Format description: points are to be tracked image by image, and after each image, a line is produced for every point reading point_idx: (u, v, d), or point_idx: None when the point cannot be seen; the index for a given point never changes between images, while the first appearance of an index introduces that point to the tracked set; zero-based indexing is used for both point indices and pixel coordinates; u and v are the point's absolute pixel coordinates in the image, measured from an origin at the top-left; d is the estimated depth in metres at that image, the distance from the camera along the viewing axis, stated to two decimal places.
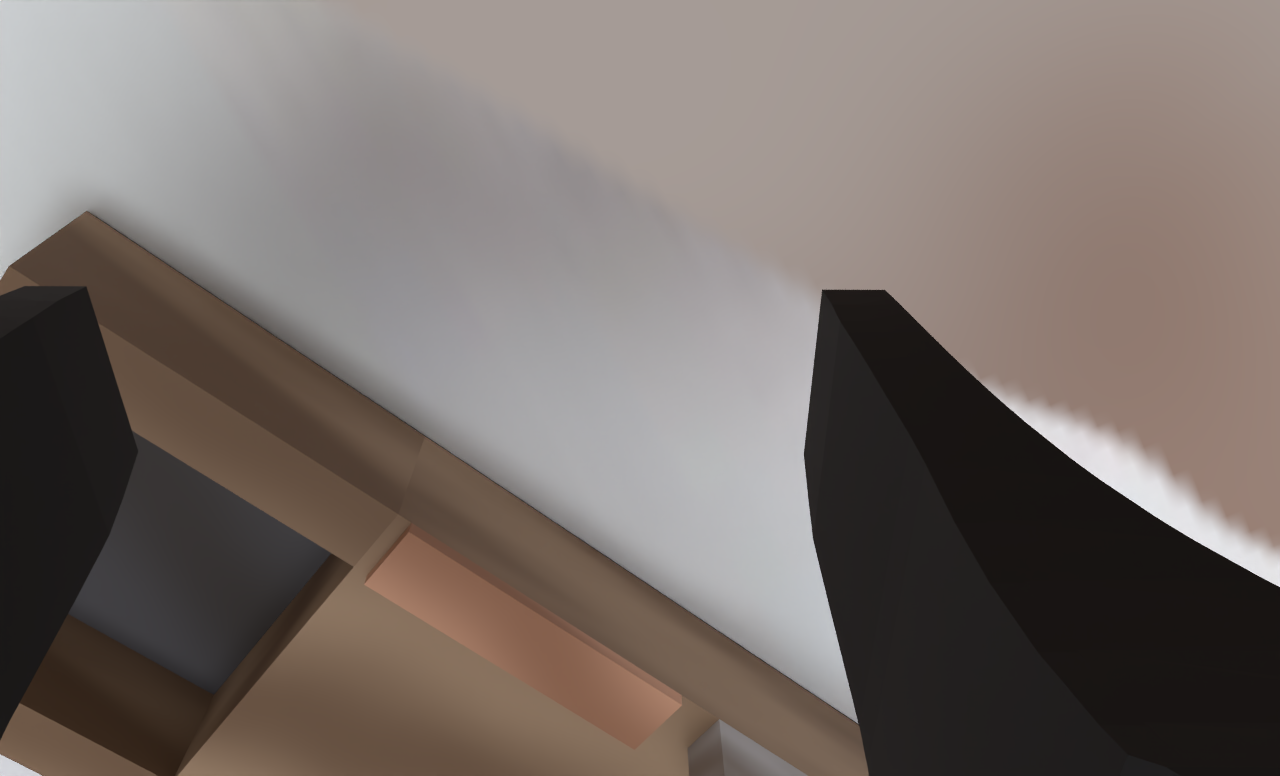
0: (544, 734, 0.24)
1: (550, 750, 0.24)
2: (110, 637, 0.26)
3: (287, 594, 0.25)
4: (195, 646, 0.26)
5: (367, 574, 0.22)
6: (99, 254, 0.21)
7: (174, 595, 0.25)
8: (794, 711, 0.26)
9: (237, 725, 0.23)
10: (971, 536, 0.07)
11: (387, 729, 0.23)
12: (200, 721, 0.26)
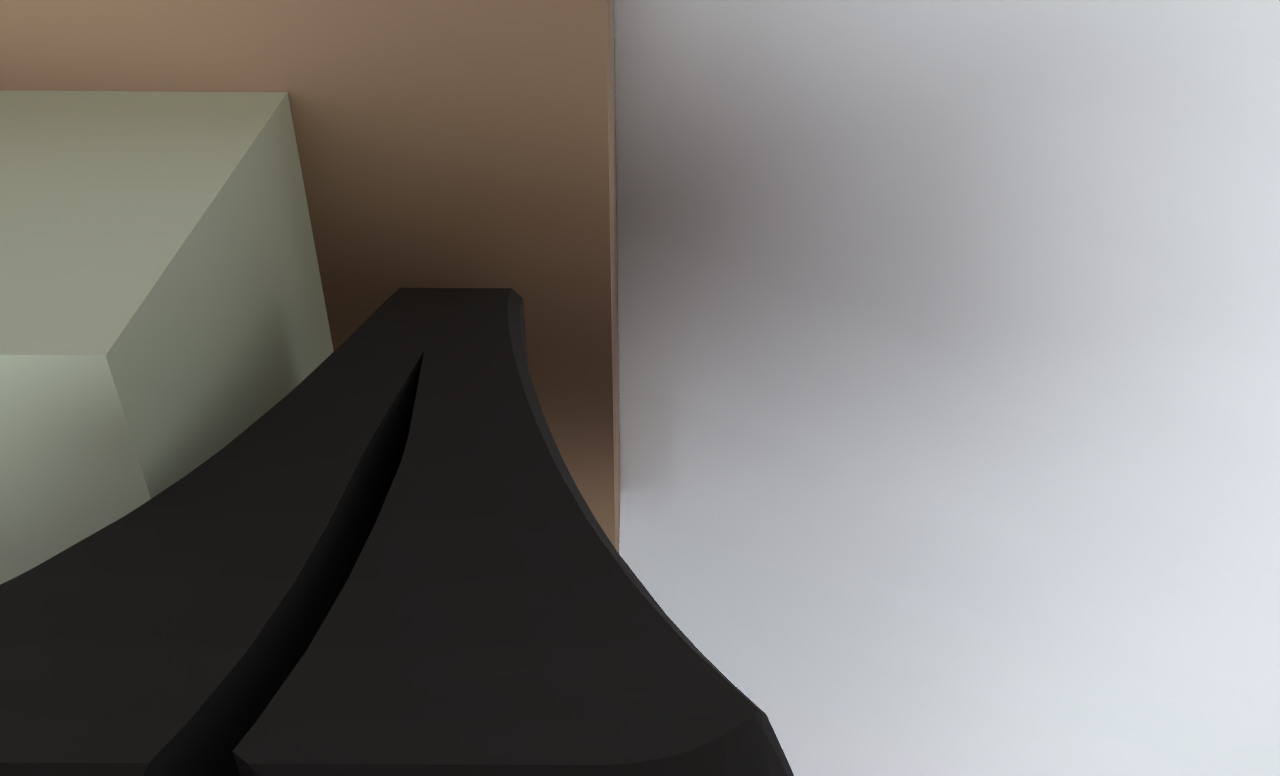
0: None
1: None
2: None
3: None
4: None
5: None
6: None
7: None
8: None
9: None
10: (379, 534, 0.07)
11: None
12: None
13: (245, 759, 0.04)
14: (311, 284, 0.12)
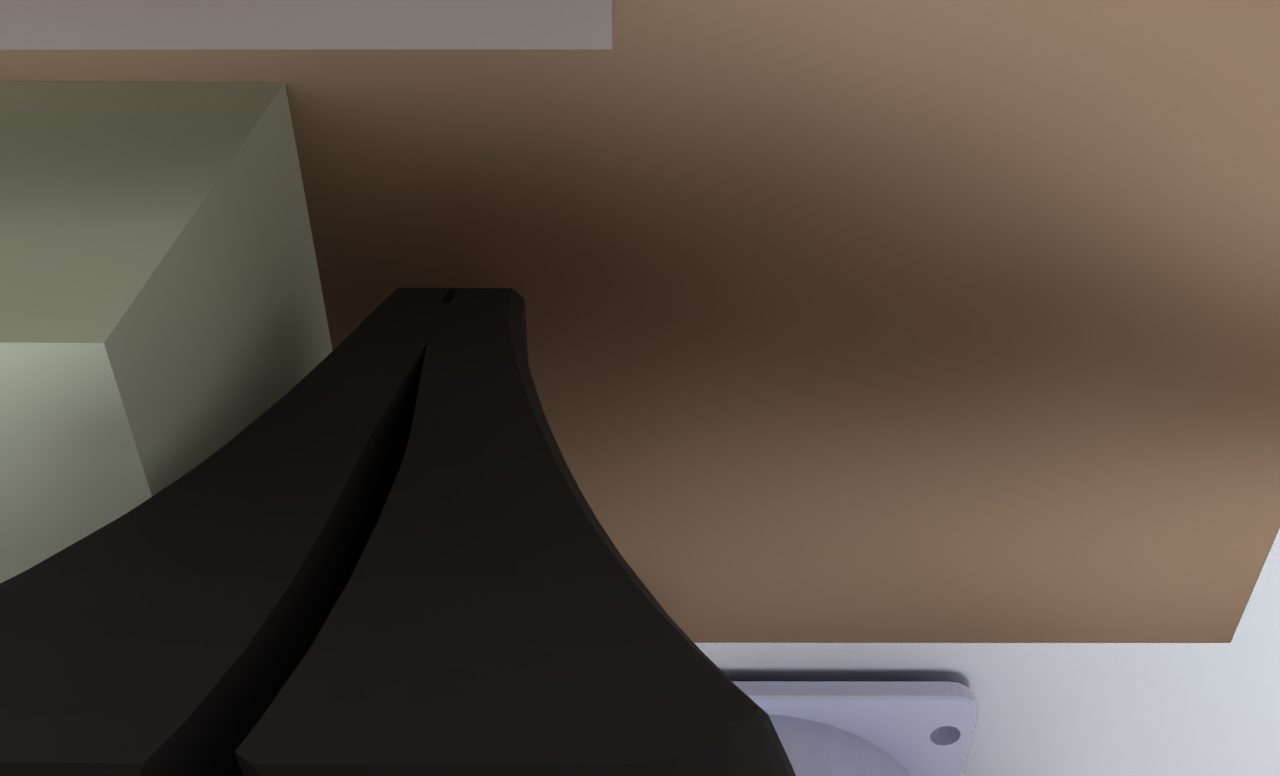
0: None
1: None
2: None
3: None
4: None
5: None
6: None
7: None
8: None
9: None
10: (381, 533, 0.07)
11: None
12: None
13: (247, 759, 0.04)
14: (309, 275, 0.12)
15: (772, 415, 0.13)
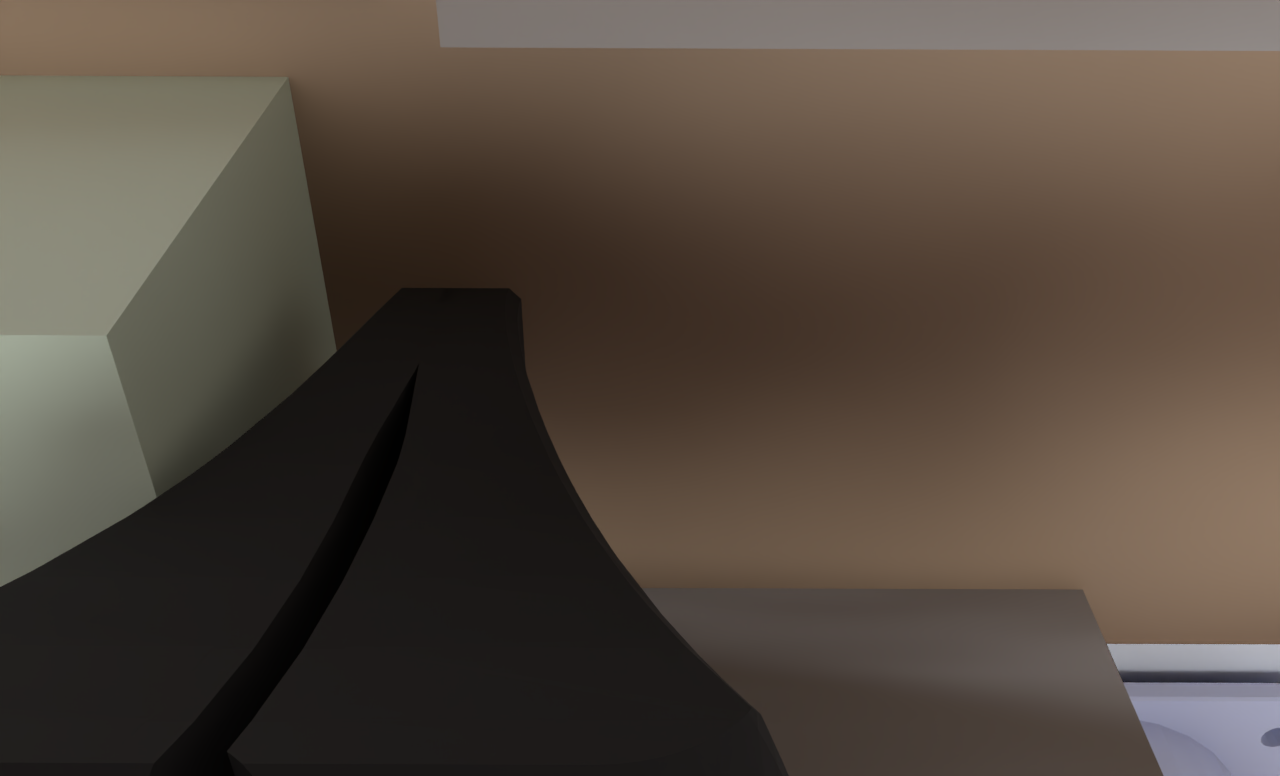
0: None
1: None
2: None
3: None
4: None
5: None
6: None
7: None
8: None
9: None
10: (376, 533, 0.07)
11: None
12: None
13: (240, 759, 0.04)
14: (313, 271, 0.12)
15: None
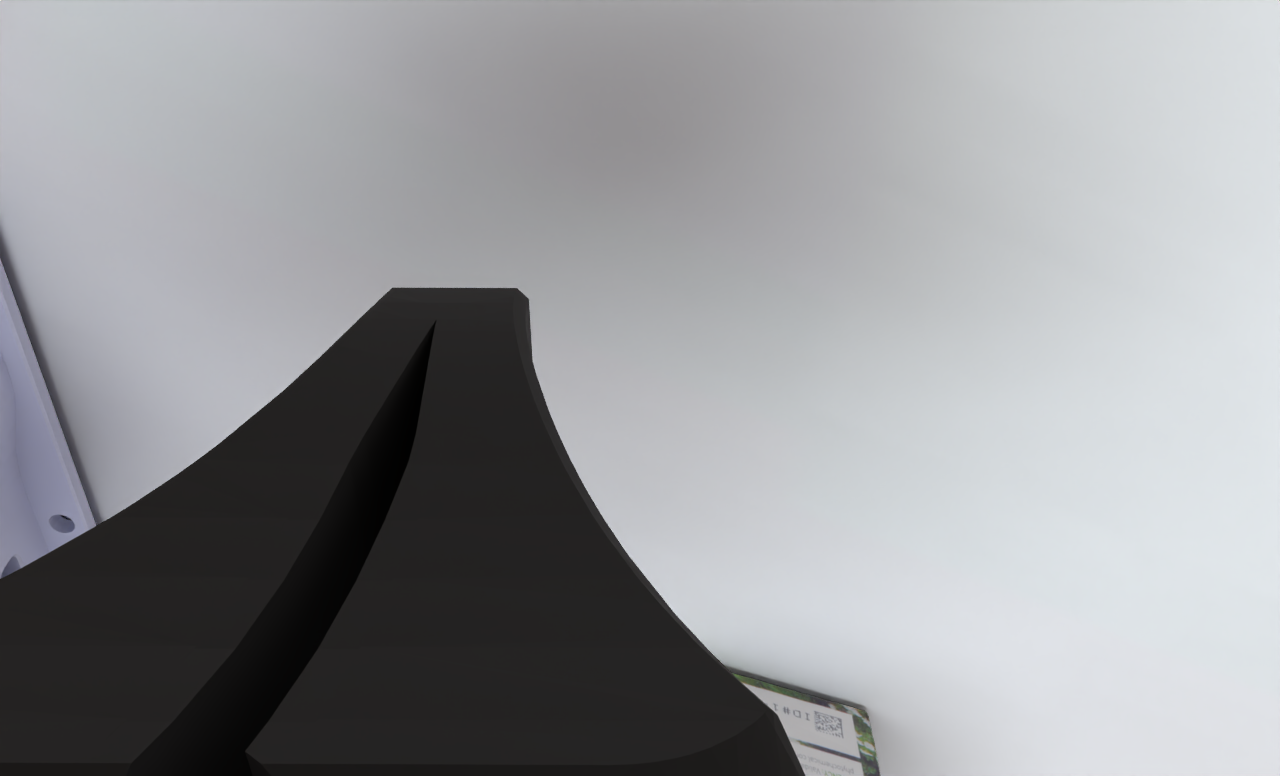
0: None
1: None
2: None
3: None
4: None
5: None
6: None
7: None
8: None
9: None
10: (388, 533, 0.07)
11: None
12: None
13: (258, 759, 0.04)
14: None
15: None
